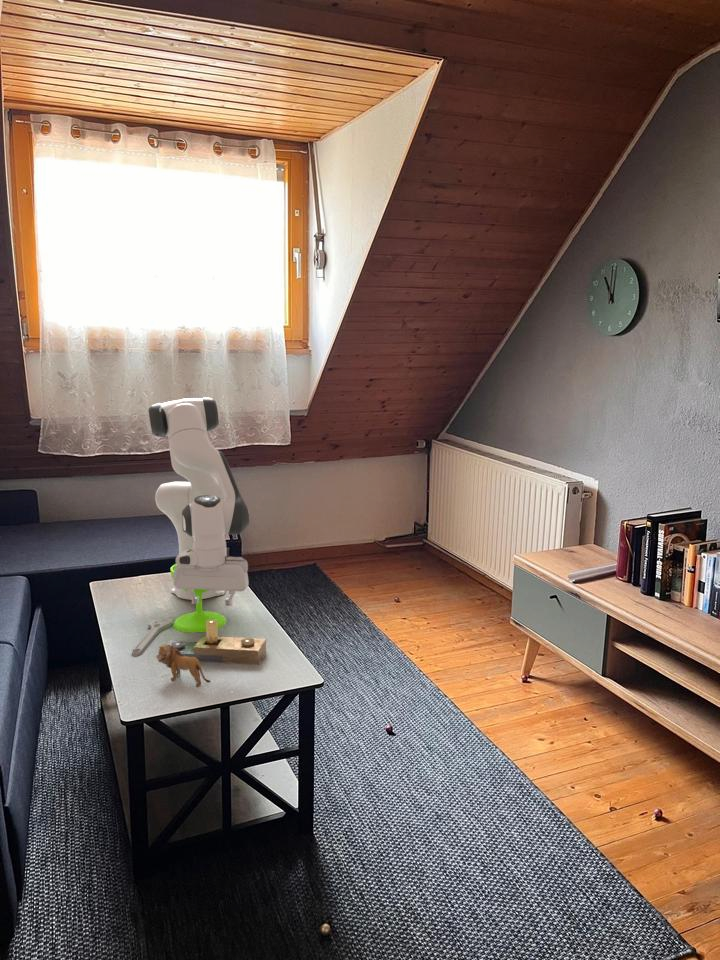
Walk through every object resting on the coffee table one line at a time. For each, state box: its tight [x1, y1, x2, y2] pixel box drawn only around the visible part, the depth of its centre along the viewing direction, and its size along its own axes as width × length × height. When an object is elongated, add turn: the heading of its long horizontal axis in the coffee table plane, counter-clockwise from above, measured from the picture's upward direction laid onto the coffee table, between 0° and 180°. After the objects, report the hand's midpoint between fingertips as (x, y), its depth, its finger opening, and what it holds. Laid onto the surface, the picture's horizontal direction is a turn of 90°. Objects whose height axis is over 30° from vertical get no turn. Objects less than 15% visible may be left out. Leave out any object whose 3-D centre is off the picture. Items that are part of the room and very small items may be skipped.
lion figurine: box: [156, 643, 211, 688], centre depth 192 cm, size 15×5×9 cm, turn 73°
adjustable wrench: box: [131, 617, 173, 656], centre depth 220 cm, size 25×6×2 cm, turn 172°
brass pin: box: [205, 620, 219, 646], centre depth 206 cm, size 3×3×10 cm
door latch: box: [166, 635, 267, 666], centre depth 207 cm, size 8×28×5 cm, turn 82°
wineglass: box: [170, 563, 227, 633], centre depth 229 cm, size 16×16×18 cm
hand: (212, 604), depth 205 cm, fingers open, 8 cm apart
